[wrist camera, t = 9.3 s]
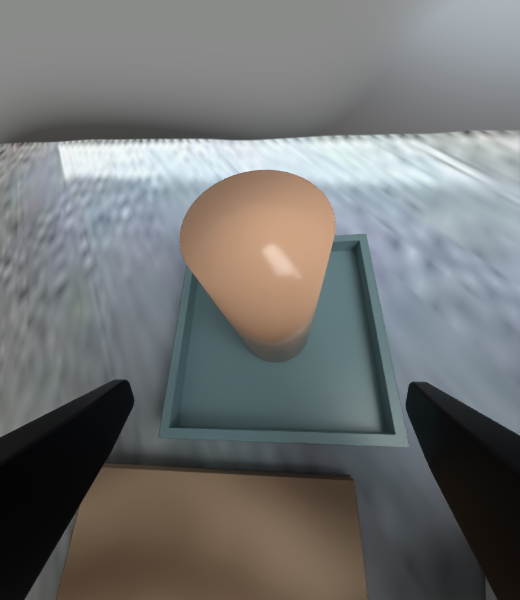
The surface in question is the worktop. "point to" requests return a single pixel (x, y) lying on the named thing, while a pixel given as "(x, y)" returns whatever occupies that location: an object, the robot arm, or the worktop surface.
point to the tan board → (215, 536)
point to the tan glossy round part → (262, 256)
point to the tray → (289, 369)
